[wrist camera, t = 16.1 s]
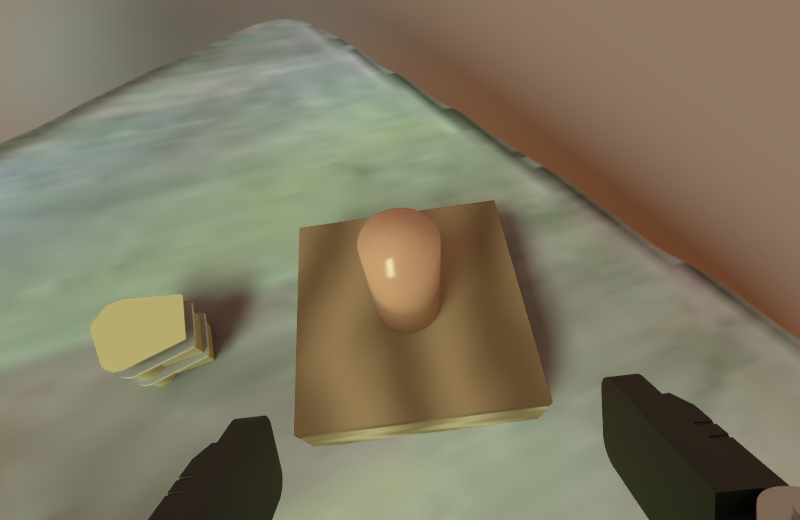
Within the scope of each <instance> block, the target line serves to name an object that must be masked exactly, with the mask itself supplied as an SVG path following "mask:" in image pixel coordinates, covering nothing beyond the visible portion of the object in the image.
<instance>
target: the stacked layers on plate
mask: <svg viewBox="0 0 800 520" xmlns="http://www.w3.org/2000/svg"><path fill="white" fill-rule="evenodd" d="M91 334H92V337H93V341H94V344H95V348H96V351H97V355H98V358H99V361H100V364H101V366H102V368H103V369H105V370H106V371H109V372H114V373H115V374H116V375H118V376H120V377H122V378H131V379H132V381H133V382H135V383H136V384H139V385H142V386H149V385H154V386H164V385H166V384H168V383H170V382H171V381H172V380H173V379H174V378H175V377H176V375H177V373H180V372H183V371H186V370H189V369H191V368H194V367H197V366H200V365H202V364H205V363H208V362H211V361H214V352H213V343H212V334H211V325H209V324H208V323H207V322H206V314H205V313H203V312H201V313H195V312H194V308H193V303H192V302H183V295H182V294H178V295H167V296H156V297H145V298H133V299H124V300H121V301H118V302H115V303H112V304H109V305H107V306H105V308H104V309H103V310H102V312H101V313H100V314H99V315H98V317H97V318H96V319H95V321H94V322H93V323H92V325H91Z"/></svg>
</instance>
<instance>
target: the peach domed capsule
mask: <svg viewBox="0 0 800 520" xmlns="http://www.w3.org/2000/svg"><path fill="white" fill-rule="evenodd" d="M357 248H358V253H359V257H360V260H361V263H362V266H363V269H364V273H365V276H366V279H367V282H368V286H369V289H370V292H371V295H372V298H373V302H374V305H375V308H376V311H377V314H378V317H379V319H380V320H381V322H382V323H383V324H384V325H385V326H386V327H388V328H389V329H391V330H393V331H395V332H398V333H404V334H410V333H416V332H419V331H422V330H424V329H425V328H427V327H428V326H430V325H431V324H432V323H433V322H434V320H435V319H436V317H437V315H438V313H439V310H440V270H441V239H440V233H439V230H438V228H437V226H436V225H435V223H434V222H433V221H432V220H431V219H430V218H429V217H428V216H426V215H425V214H423V213H421V212H419V211H417V210H413V209H408V208H394V209H389V210H385V211H383V212H380V213H378V214H377V215H375V216H373V217H372V218H371V219H370V220H368V221H367V223H366V224H365V225H364V226H363V228H362V229H361V231H360V233H359V236H358V241H357Z"/></svg>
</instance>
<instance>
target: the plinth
mask: <svg viewBox="0 0 800 520" xmlns="http://www.w3.org/2000/svg"><path fill="white" fill-rule="evenodd" d="M419 212H421V213H423V214H425V215H426V216H428V217H429V218H430V219H431V220H432V221H433V222H434V223H435V225H436V226H437V228H438V230H439V233H440V239H441V270H440V310H439V313H438V315H437V317H436V319H435V320H434V322H433V323H432V324H431V325H430V326H428V327H427V328H425V329H424V330H422V331H419V332H416V333H410V334H404V333H398V332H395V331H393V330H391V329H389V328H388V327H386V326H385V325H384V324H383V323H382V322H381V320H380V319H379V317H378V314H377V311H376V308H375V305H374V302H373V298H372V295H371V292H370V289H369V286H368V282H367V279H366V276H365V273H364V269H363V266H362V263H361V260H360V257H359V253H358V248H357V241H358V236H359V233H360V231H361V229H362V228H363V226H364V225H365V224H366V223H367V221H368V220H370V219H371V218H366V219H359V220H352V221H345V222H338V223H331V224H324V225H317V226H310V227H303V228H300V235H299V273H298V310H297V347H296V384H295V421H294V436H296V437H298V438H299V439H301V440H303V441H305V442H307V443H309V444H311V445H312V446H314V447H321V446H328V445H336V444H344V443H352V442H360V441H367V440H375V439H383V438H391V437H398V436H406V435H414V434H422V433H429V432H437V431H445V430H453V429H461V428H468V427H476V426H484V425H492V424H499V423H507V422H515V421H523V420H530V419H538V418H539V416H540V415H541V414H542V413H543V412H544V411H545V410H546V409H547V408H548V407H549V405H550V404H551V403H552V399H551V395H550V392H549V388H548V385H547V381H546V378H545V374H544V371H543V367H542V364H541V360H540V357H539V354H538V350H537V347H536V343H535V340H534V336H533V333H532V329H531V326H530V322H529V319H528V315H527V312H526V309H525V305H524V302H523V298H522V295H521V291H520V288H519V284H518V281H517V277H516V274H515V271H514V267H513V264H512V260H511V257H510V253H509V250H508V246H507V243H506V239H505V236H504V232H503V229H502V226H501V222H500V219H499V215H498V212H497V208H496V205H495V201H494V200H493V201H486V202H479V203H472V204H465V205H458V206H451V207H444V208H437V209H430V210H423V211H419Z"/></svg>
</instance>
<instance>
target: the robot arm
mask: <svg viewBox="0 0 800 520" xmlns="http://www.w3.org/2000/svg"><path fill="white" fill-rule="evenodd" d="M602 415H603V438H604V444H605V448H606V451H607V454H608V457H609V459H610V461H611V463H612V465H613V467H614V468H615V470H616V471H617V473H618V474H619V476H620V477H621V479H622V480H623V482H624V483H625V485H626V486H627V488H628V489H629V491H630V492H631V494H632V495H633V497H634V498H635V499H636V501H637V502H638V504H639V505H640V507H641V508H642V510H643V511H644V513H645V514H646V516H647V517H648V519H649V520H800V487H793V486H789V485H788V484H787V483H785V482H784V481H783V480H782V479H781V478H780V477H778V476H777V475H776V474H775V473H774V472H773V471H771V470H770V469H769V468H768V467H767V466H765V465H764V464H763V463H762V462H761V461H760V460H758V459H757V458H756V457H755V456H754V455H753V454H751V453H750V452H749V451H748V450H747V449H745V448H744V447H743V446H742V445H741V444H740V443H738V442H737V441H736V440H735V439H734V438H733V437H731V438H730V437H729V436H728V433H727V432H725V431H724V430H723V429H722V428H721V427H720V426H718V425H717V424H714V423H713V421H712V420H711V419H710V418H709V417H708V416H707V415H705V414H704V413H703V412H702V411H701V410H700V409H698V408H697V407H696V406H695V405H693V404H691V403H689V402H687V401H685V400H683V399H681V398H679V397H677V396H675V395H672V394H670V393H665V394H661V393H660V392H659V391H658V390H657V389H656V388H655V387H654V386H653V385H652V384H650V383H649V382H648V381H647V380H646V379H645V378H644V377H643V376H642V375H640V374H630V375H622V376H613V377H605V378H604V379H603V381H602ZM281 492H282V470H281V465H280V461H279V457H278V452H277V448H276V444H275V440H274V435H273V431H272V427H271V423H270V420H269V419H268V417H267V416H257V417H248V418H239V419H234V420H233V421H232V422H231V423H230V425H229V426H228V427H227V429H226V430H225V432H224V433H223V435H222V436H221V438H220V439H219V441H218V442H217V443H211V444H210V445H209V446H208V447H207V448H205V449H204V450H203V451H202V452H200V453H199V454H198V455H197V456H196V457H194V458H193V459H192V460H191V462H190V463H189V464H188V466H187V467H186V468H185V470H184V471H183V473H182V474H181V475H180V477H179V480H177V481H176V482H175V484H174V485H173V486H172V488H171V489H170V490H169V492H168V496H165V497H164V499H163V500H162V501H161V503H160V504H159V505H158V507H157V508H156V510H155V511H154V512H153V514H152V515H151V516H150V518H149V519H148V520H272V518H273V516H274V513H275V510H276V508H277V505H278V503H279V500H280V497H281Z"/></svg>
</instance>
